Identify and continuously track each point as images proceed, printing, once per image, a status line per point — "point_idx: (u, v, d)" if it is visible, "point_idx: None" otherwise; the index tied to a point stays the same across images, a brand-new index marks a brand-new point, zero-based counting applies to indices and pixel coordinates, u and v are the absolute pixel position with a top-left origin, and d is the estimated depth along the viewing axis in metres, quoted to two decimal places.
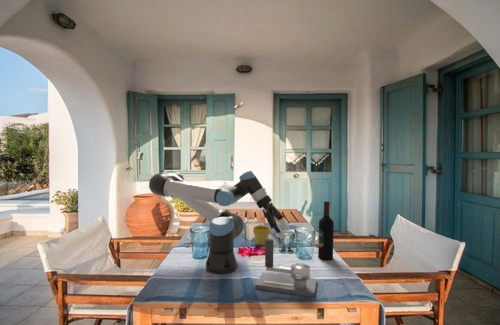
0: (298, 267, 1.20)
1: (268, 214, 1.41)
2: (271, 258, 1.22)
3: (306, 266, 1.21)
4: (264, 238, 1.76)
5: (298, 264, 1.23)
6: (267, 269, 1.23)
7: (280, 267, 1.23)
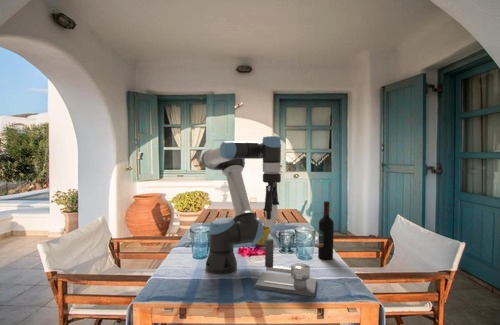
0: (298, 267, 1.20)
1: (270, 194, 1.17)
2: (271, 258, 1.22)
3: (306, 266, 1.21)
4: (264, 238, 1.76)
5: (298, 264, 1.23)
6: (267, 269, 1.23)
7: (280, 267, 1.23)
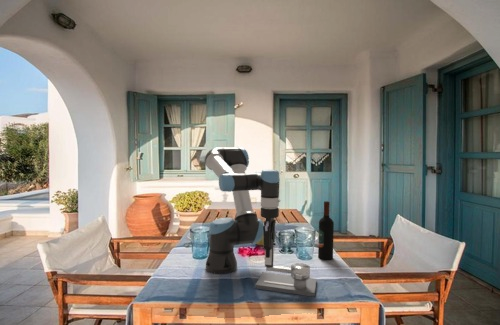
0: (298, 267, 1.20)
1: (267, 235, 1.18)
2: None
3: (306, 266, 1.21)
4: None
5: (298, 264, 1.23)
6: (267, 269, 1.23)
7: (280, 267, 1.23)
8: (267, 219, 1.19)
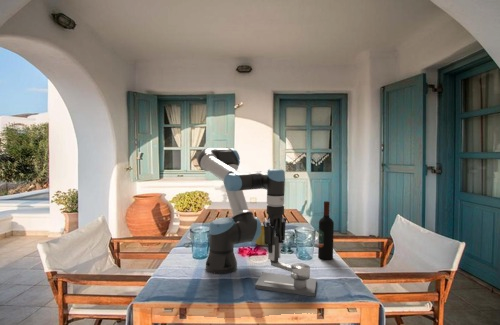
0: (298, 266, 1.21)
1: (267, 230, 1.24)
2: (275, 254, 1.27)
3: (307, 267, 1.20)
4: None
5: (300, 264, 1.23)
6: (271, 264, 1.28)
7: (283, 264, 1.26)
8: (269, 216, 1.25)
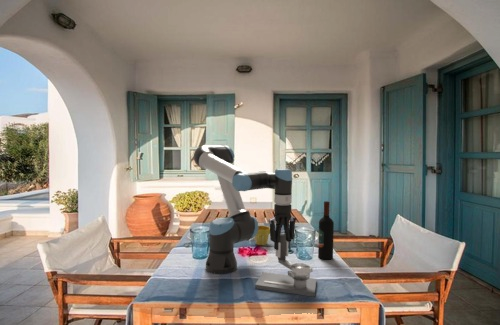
0: (298, 266, 1.21)
1: (272, 228, 1.28)
2: (281, 252, 1.30)
3: (306, 268, 1.19)
4: (264, 238, 1.76)
5: (303, 264, 1.22)
6: (279, 261, 1.32)
7: (288, 262, 1.28)
8: (275, 214, 1.29)
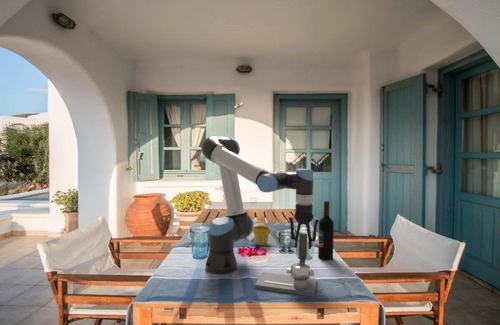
0: (299, 266, 1.21)
1: None
2: (300, 250, 1.32)
3: (302, 269, 1.18)
4: (264, 238, 1.76)
5: (306, 266, 1.21)
6: None
7: (301, 262, 1.28)
8: None
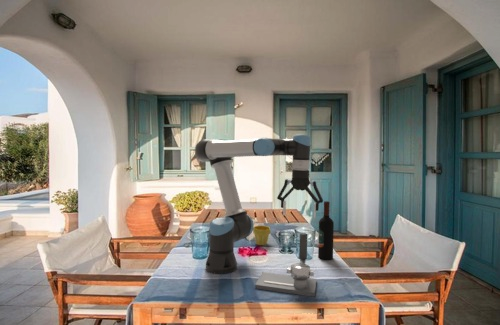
0: (299, 266, 1.21)
1: (283, 186, 1.34)
2: (300, 250, 1.32)
3: (302, 269, 1.18)
4: (264, 238, 1.76)
5: (306, 266, 1.21)
6: None
7: (301, 262, 1.28)
8: None
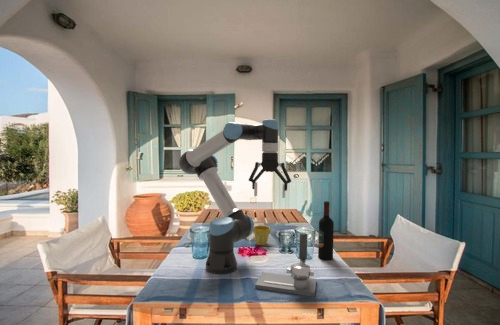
0: (299, 266, 1.21)
1: (254, 169, 1.42)
2: (300, 250, 1.32)
3: (302, 269, 1.18)
4: (264, 238, 1.76)
5: (306, 266, 1.21)
6: None
7: (301, 262, 1.28)
8: None
